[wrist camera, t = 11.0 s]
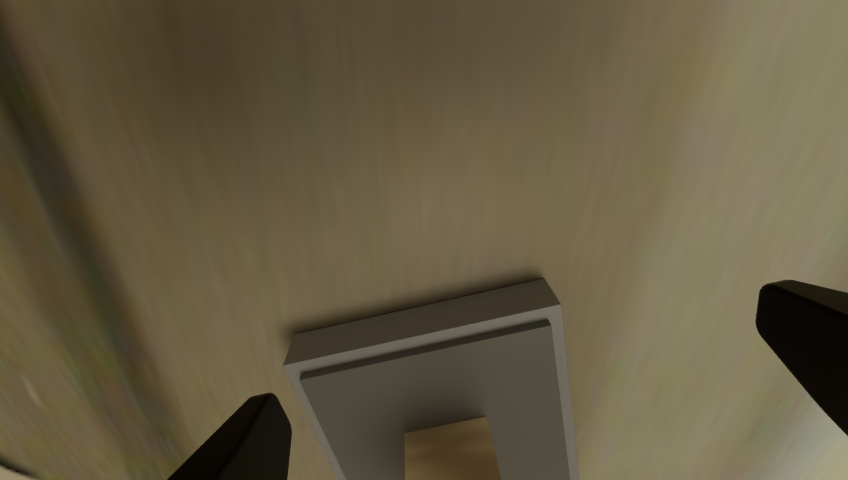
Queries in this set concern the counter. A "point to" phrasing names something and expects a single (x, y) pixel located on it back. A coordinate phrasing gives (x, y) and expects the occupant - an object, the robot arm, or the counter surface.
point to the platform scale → (442, 382)
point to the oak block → (451, 452)
